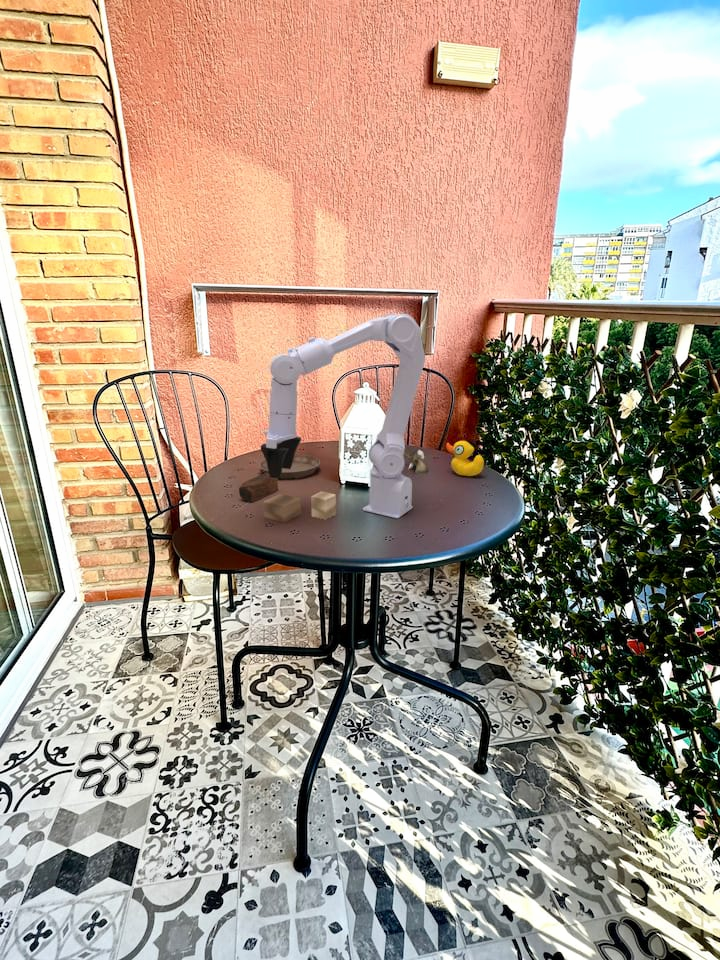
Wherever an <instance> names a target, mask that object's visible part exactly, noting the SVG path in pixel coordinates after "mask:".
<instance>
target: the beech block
mask: <svg viewBox="0 0 720 960" xmlns="http://www.w3.org/2000/svg"><path fill="white" fill-rule="evenodd" d="M310 501H311V503H310V506H311V517H312V518H315V517H316V519H319V518H320V520H322V519H324V520H323V521H328V520H329V519H331V518H333V517H335V516H336V515H337V495H336V494H335V493H331V492H326V491H323V490H321V491H319V492H317V493H316V494H313V495H311V498H310ZM332 516H333V517H332ZM328 518H329V519H328ZM327 519H328V520H327Z"/></svg>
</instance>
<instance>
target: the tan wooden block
mask: <svg viewBox="0 0 720 960" xmlns="http://www.w3.org/2000/svg"><path fill="white" fill-rule="evenodd" d="M262 504H263V505H262V506H263V515H264V516H263V517H264V518H266V519H269V520H273V521H278V522H281V523H284V524H286V523H287V522H289V521H291V520H292V518H293V519H294V517H295V518H296V517H298V516H300V515H302V498H300V497H296V496H292V495H286V494H282V493H279V494H277V495H275V496H273V497H270V498H268V499H265V500H263V503H262ZM299 514H300V515H299Z"/></svg>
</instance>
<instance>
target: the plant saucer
mask: <svg viewBox="0 0 720 960" xmlns="http://www.w3.org/2000/svg"><path fill="white" fill-rule="evenodd" d="M320 464H321V460H320V459H318V458H316V457H314V456H311V455H306V454H305V455H304V454H295V455H294V459H293V463H292V466H291V469H285V468H282V473H281V476H280V478H281V479H280V480H282V479H283V480H292V479H291V478H295V479H300V477H301V478H305V477H307V476H311V475H312V474H314V473H315V471H317V469H318V467H320ZM258 466H259V468H260V469H261V470H262V472H263V474H264V473H269V471H268V466H267V462H266V459H263V460H262V461H261V462H260V463H259V464H258Z"/></svg>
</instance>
